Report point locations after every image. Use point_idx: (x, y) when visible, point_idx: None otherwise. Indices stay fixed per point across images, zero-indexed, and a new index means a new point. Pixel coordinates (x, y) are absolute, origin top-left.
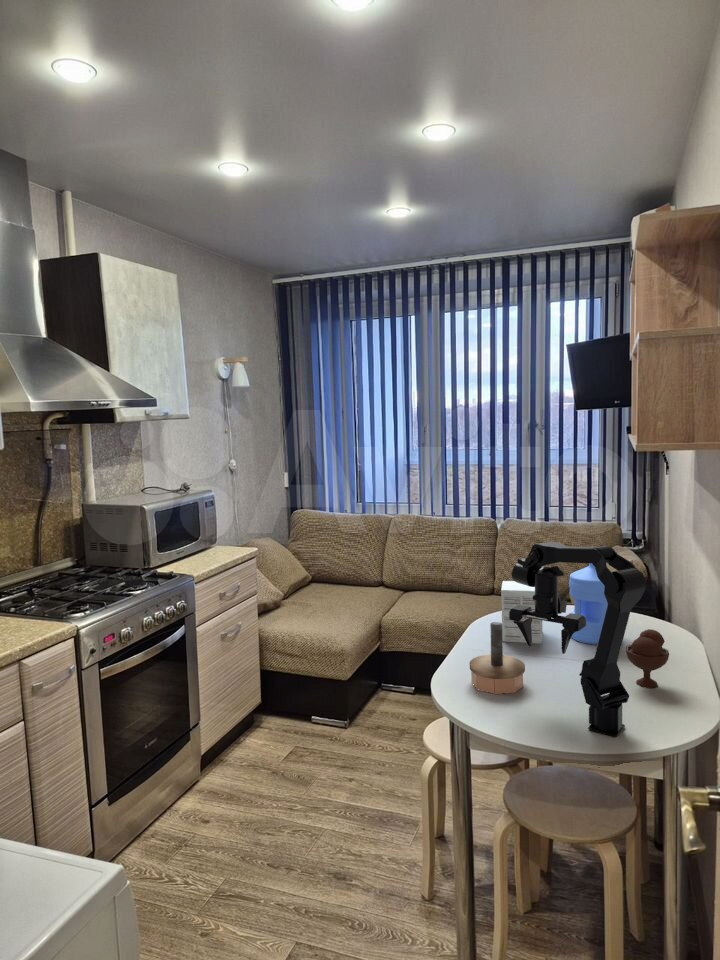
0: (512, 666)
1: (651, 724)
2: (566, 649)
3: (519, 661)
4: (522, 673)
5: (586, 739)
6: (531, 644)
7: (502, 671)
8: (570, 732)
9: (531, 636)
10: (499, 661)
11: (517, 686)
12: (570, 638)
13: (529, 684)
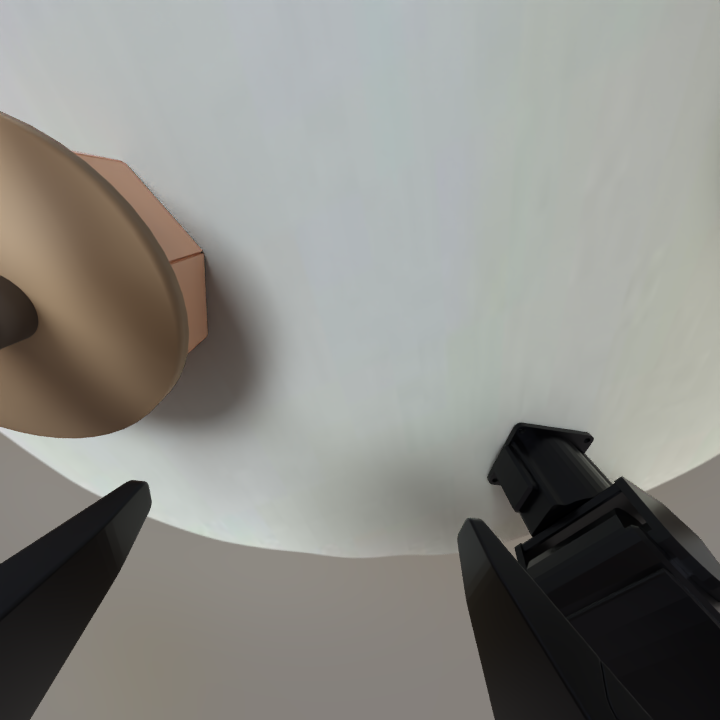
0: (97, 306)
1: (680, 387)
2: (502, 550)
3: (69, 191)
4: (186, 323)
5: (480, 511)
6: (137, 494)
7: (105, 394)
8: (442, 498)
9: (55, 575)
10: (5, 342)
11: (198, 312)
12: (633, 713)
13: (217, 213)
